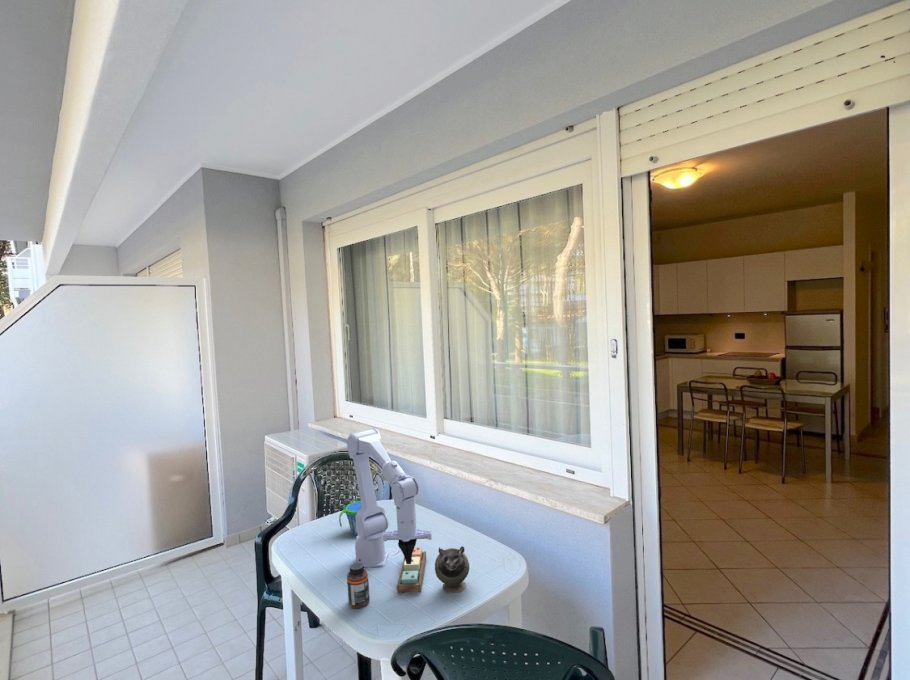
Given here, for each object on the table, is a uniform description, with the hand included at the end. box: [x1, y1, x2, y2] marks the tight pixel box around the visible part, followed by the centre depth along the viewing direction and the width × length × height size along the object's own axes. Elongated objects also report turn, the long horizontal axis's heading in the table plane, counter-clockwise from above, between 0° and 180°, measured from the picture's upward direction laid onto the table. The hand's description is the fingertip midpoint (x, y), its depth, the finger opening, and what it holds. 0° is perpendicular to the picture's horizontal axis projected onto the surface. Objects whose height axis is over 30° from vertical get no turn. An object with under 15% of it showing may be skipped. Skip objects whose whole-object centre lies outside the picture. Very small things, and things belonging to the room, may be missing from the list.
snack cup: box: [338, 500, 371, 537], centre depth 181 cm, size 16×11×10 cm
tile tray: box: [396, 551, 427, 595], centre depth 149 cm, size 7×19×2 cm, turn 179°
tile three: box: [412, 546, 423, 561], centre depth 155 cm, size 5×5×3 cm
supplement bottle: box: [346, 561, 371, 609], centre depth 136 cm, size 6×6×11 cm
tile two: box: [401, 571, 419, 584], centre depth 143 cm, size 5×5×3 cm
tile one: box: [404, 557, 421, 572], centre depth 149 cm, size 5×5×3 cm
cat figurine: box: [434, 546, 470, 594], centre depth 141 cm, size 10×12×10 cm
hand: (409, 562), depth 143 cm, fingers closed
